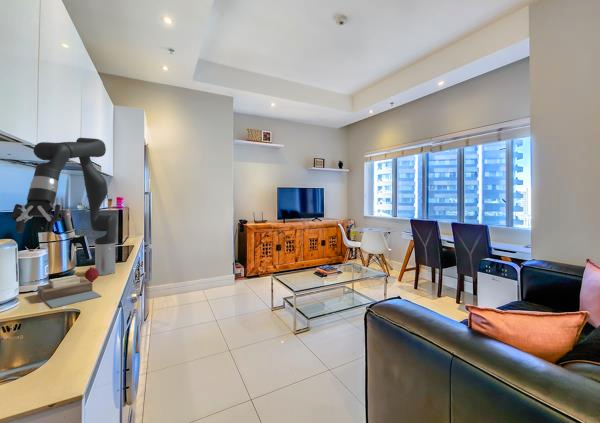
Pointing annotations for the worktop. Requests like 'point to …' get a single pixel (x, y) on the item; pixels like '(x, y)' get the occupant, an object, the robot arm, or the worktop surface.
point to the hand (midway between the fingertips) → (33, 232)
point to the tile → (64, 281)
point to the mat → (72, 299)
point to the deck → (63, 290)
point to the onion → (91, 274)
